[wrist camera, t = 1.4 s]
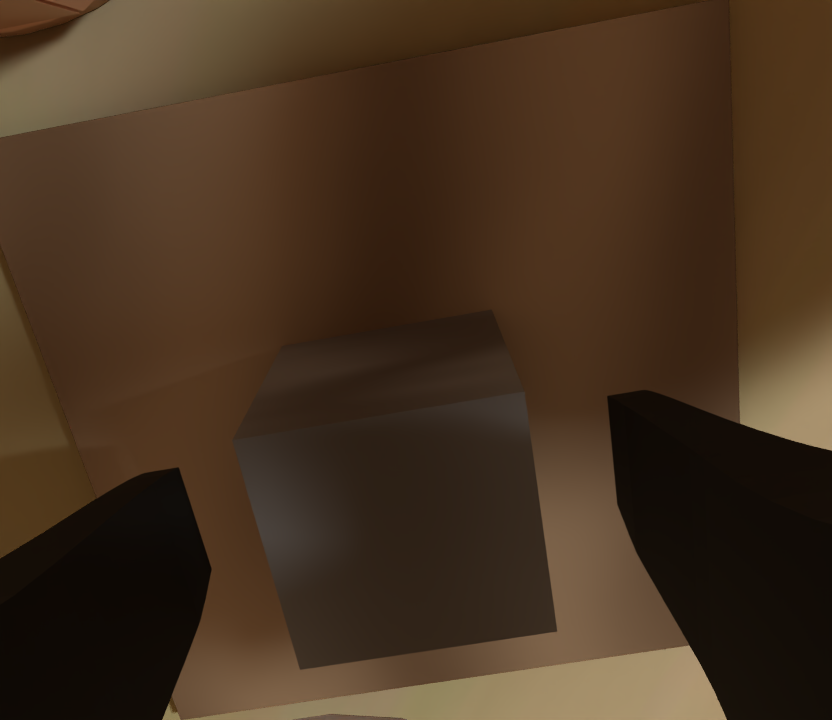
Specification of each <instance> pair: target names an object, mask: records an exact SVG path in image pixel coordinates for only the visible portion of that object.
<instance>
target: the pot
mask: <svg viewBox="0 0 832 720" xmlns="http://www.w3.org/2000/svg"><path fill="white" fill-rule="evenodd" d="M107 1H109V0H0V37H7V36H16V35H24V34H28V33H32V32H36V31H39V30H43V29H46V28H50V27H54V26H57V25H61V24H63V23H66V22H68V21H70V20H72V19H74V18H77V17H79V16H81V15H83V14H85V13H88V12H90V11H92V10H94V9H96V8H98V7H100V6H101V5H103V4H104V3H106V2H107Z"/></svg>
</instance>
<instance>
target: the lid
mask: <svg viewBox="0 0 832 720" xmlns="http://www.w3.org/2000/svg"><path fill="white" fill-rule="evenodd" d="M0 245H1V248H2V251H3V253H4V256H5V258H6V261H7V264H8V266H9V269H10V272H11V274H12V277H13V280H14V282H15V285H16V287H17V290H18V293H19V295H20V298H21V301H22V303H23V306H24V308H25V311H26V314H27V316H28V319H29V322H30V324H31V327H32V330H33V332H34V335H35V337H36V340H37V343H38V345H39V348H40V351H41V353H42V356H43V358H44V361H45V364H46V366H47V369H48V372H49V374H50V377H51V380H52V382H53V385H54V387H55V390H56V393H57V395H58V398H59V401H60V403H61V406H62V408H63V411H64V414H65V416H66V419H67V422H68V424H69V427H70V430H71V432H72V435H73V437H74V440H75V443H76V445H77V448H78V451H79V453H80V456H81V458H82V461H83V464H84V466H85V469H86V472H87V474H88V477H89V480H90V482H91V485H92V487H93V490H94V493H95V495H96V498H98V497H100V496H102V495H103V494H105V493H107V492H108V491H110V490H112V489H113V488H115V487H117V486H118V485H120V484H122V483H124V482H126V481H127V480H129V479H131V478H133V477H136V476H138V475H140V474H143V473H147V472H153V471H159V470H165V469H171V468H177V467H179V469H180V472H181V475H182V479H183V482H184V485H185V488H186V491H187V494H188V497H189V500H190V503H191V506H192V509H193V512H194V516H195V519H196V522H197V525H198V528H199V531H200V534H201V537H202V540H203V543H204V546H205V549H206V553H207V556H208V559H209V562H210V565H211V568H212V571H211V576H210V581H209V585H208V590H207V595H206V600H205V604H204V608H203V612H202V616H201V620H200V623H199V626H198V629H197V632H196V634H195V637H194V640H193V642H192V645H191V647H190V650H189V653H188V655H187V658H186V661H185V663H184V666H183V668H182V671H181V673H180V676H179V678H178V681H177V683H176V686H175V688H174V691H173V694H172V698H173V701H174V703H175V706H176V708H177V711H178V714H179V716H180V719H181V720H184V719H190V718H197V717H204V716H211V715H218V714H225V713H231V712H238V711H245V710H252V709H259V708H265V707H272V706H279V705H286V704H293V703H300V702H306V701H313V700H320V699H327V698H334V697H340V696H347V695H354V694H361V693H368V692H375V691H381V690H388V689H395V688H402V687H409V686H415V685H422V684H429V683H436V682H443V681H450V680H456V679H463V678H470V677H477V676H484V675H490V674H497V673H504V672H511V671H518V670H525V669H531V668H538V667H545V666H552V665H559V664H566V663H572V662H579V661H586V660H593V659H600V658H606V657H613V656H620V655H627V654H634V653H641V652H647V651H654V650H661V649H668V648H675V647H681V646H688V645H689V644H688V642H687V640H686V638H685V637H684V635H683V633H682V631H681V630H680V628H679V626H678V625H677V623H676V621H675V619H674V618H673V616H672V614H671V613H670V611H669V609H668V607H667V606H666V604H665V602H664V601H663V599H662V597H661V595H660V594H659V592H658V590H657V588H656V587H655V585H654V583H653V581H652V580H651V578H650V576H649V574H648V573H647V571H646V569H645V567H644V566H643V564H642V562H641V560H640V558H639V557H638V555H637V553H636V551H635V548H634V546H633V543H632V541H631V538H630V536H629V534H628V531H627V529H626V526H625V523H624V521H623V518H622V516H621V513H620V510H619V508H618V505H617V497H616V486H615V476H614V465H613V454H612V444H611V433H610V422H609V411H608V401H607V396H609V395H615V394H621V393H627V392H633V391H639V390H649V391H653V392H656V393H659V394H662V395H665V396H668V397H671V398H673V399H676V400H679V401H681V402H684V403H686V404H689V405H691V406H694V407H696V408H699V409H702V410H704V411H707V412H709V413H712V414H715V415H717V416H720V417H723V418H725V419H728V420H731V421H733V422H736V423H739V424H740V411H739V372H738V333H737V294H736V255H735V217H734V178H733V139H732V100H731V61H730V22H729V0H709V1H704V2H698V3H693V4H688V5H683V6H678V7H673V8H667V9H662V10H657V11H652V12H647V13H642V14H636V15H631V16H626V17H621V18H616V19H611V20H605V21H600V22H595V23H590V24H585V25H580V26H574V27H569V28H564V29H559V30H554V31H549V32H543V33H538V34H533V35H528V36H523V37H518V38H512V39H507V40H502V41H497V42H492V43H487V44H481V45H476V46H471V47H466V48H461V49H456V50H451V51H445V52H440V53H435V54H430V55H425V56H420V57H414V58H409V59H404V60H399V61H394V62H389V63H383V64H378V65H373V66H368V67H363V68H358V69H352V70H347V71H342V72H337V73H332V74H327V75H321V76H316V77H311V78H306V79H301V80H296V81H290V82H285V83H280V84H275V85H270V86H265V87H259V88H254V89H249V90H244V91H239V92H234V93H228V94H223V95H218V96H213V97H208V98H203V99H197V100H192V101H187V102H182V103H177V104H172V105H166V106H161V107H156V108H151V109H146V110H141V111H136V112H130V113H125V114H120V115H115V116H110V117H105V118H99V119H94V120H89V121H84V122H79V123H74V124H68V125H63V126H58V127H53V128H48V129H43V130H37V131H32V132H27V133H22V134H17V135H12V136H6V137H1V138H0Z"/></svg>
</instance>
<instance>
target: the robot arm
mask: <svg viewBox="0 0 832 720" xmlns="http://www.w3.org/2000/svg"><path fill="white" fill-rule="evenodd" d="M607 401H608V411H609V422H610V433H611V444H612V454H613V465H614V476H615V486H616V497H617V505H618V508H619V510H620V513H621V516H622V518H623V521H624V523H625V526H626V529H627V531H628V534H629V536H630V538H631V541H632V543H633V546H634V548H635V551H636V553H637V555H638V557H639V558H640V560H641V562H642V564H643V566H644V567H645V569H646V571H647V573H648V574H649V576H650V578H651V580H652V581H653V583H654V585H655V587H656V588H657V590H658V592H659V594H660V595H661V597H662V599H663V601H664V602H665V604H666V606H667V607H668V609H669V611H670V613H671V614H672V616H673V618H674V619H675V621H676V623H677V625H678V626H679V628H680V630H681V631H682V633H683V635H684V637H685V638H686V640H687V642H688V644H689V645H690V647H691V649H692V650H693V652H694V654H695V656H696V657H697V659H698V661H699V662H700V664H701V666H702V668H703V670H704V672H705V674H706V676H707V678H708V680H709V682H710V683H711V685H712V687H713V689H714V691H715V693H716V696H717V698H718V700H719V702H720V705H721V707H722V709H723V711H724V714H725V716H726V718H727V720H832V451H831V450H826V449H822V448H818V447H813V446H810V445H806V444H802V443H799V442H795V441H791V440H788V439H785V438H782V437H779V436H775V435H772V434H769V433H766V432H763V431H759V430H756V429H753V428H750V427H748V426H745V425H742V424H739V423H736V422H733V421H731V420H728V419H725V418H723V417H720V416H717V415H715V414H712V413H709V412H707V411H704V410H702V409H699V408H696V407H694V406H691V405H689V404H686V403H684V402H681V401H679V400H676V399H673V398H671V397H668V396H665V395H662V394H659V393H656V392H653V391H649V390H639V391H633V392H627V393H621V394H615V395H609V396H607ZM211 571H212V568H211V565H210V562H209V559H208V556H207V553H206V549H205V546H204V543H203V540H202V537H201V534H200V531H199V528H198V525H197V522H196V519H195V516H194V512H193V509H192V506H191V503H190V500H189V497H188V494H187V491H186V488H185V485H184V482H183V479H182V475H181V472H180V469H179V467H177V468H171V469H165V470H159V471H153V472H147V473H143V474H140V475H138V476H136V477H133V478H131V479H129V480H127V481H126V482H124V483H122V484H120V485H118V486H117V487H115V488H113V489H112V490H110V491H108V492H107V493H105V494H103V495H102V496H100V497H98V498H97V499H95V500H94V501H92V502H91V503H89V504H87V505H86V506H84V507H83V508H81V509H80V510H78V511H76V512H75V513H73V514H72V515H70V516H69V517H67V518H66V519H64V520H62V521H61V522H59V523H58V524H56V525H55V526H53V527H51V528H50V529H48V530H47V531H45V532H44V533H42V534H40V535H39V536H37V537H35V538H34V539H32V540H30V541H29V542H27V543H25V544H24V545H22V546H20V547H19V548H17V549H15V550H14V551H12V552H10V553H9V554H7V555H6V556H4V557H2V558H1V559H0V720H162V719H163V716H164V714H165V711H166V709H167V706H168V704H169V701H170V699H171V696H172V694H173V691H174V688H175V686H176V683H177V681H178V678H179V676H180V673H181V671H182V668H183V666H184V663H185V661H186V658H187V655H188V653H189V650H190V647H191V645H192V642H193V640H194V637H195V634H196V632H197V629H198V626H199V623H200V620H201V616H202V612H203V608H204V604H205V600H206V595H207V590H208V585H209V581H210V576H211ZM294 720H407V719H403V718H391V717H373V716H355V715H338V714H328V715H321V716H315V717H308V718H301V719H294Z"/></svg>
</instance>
